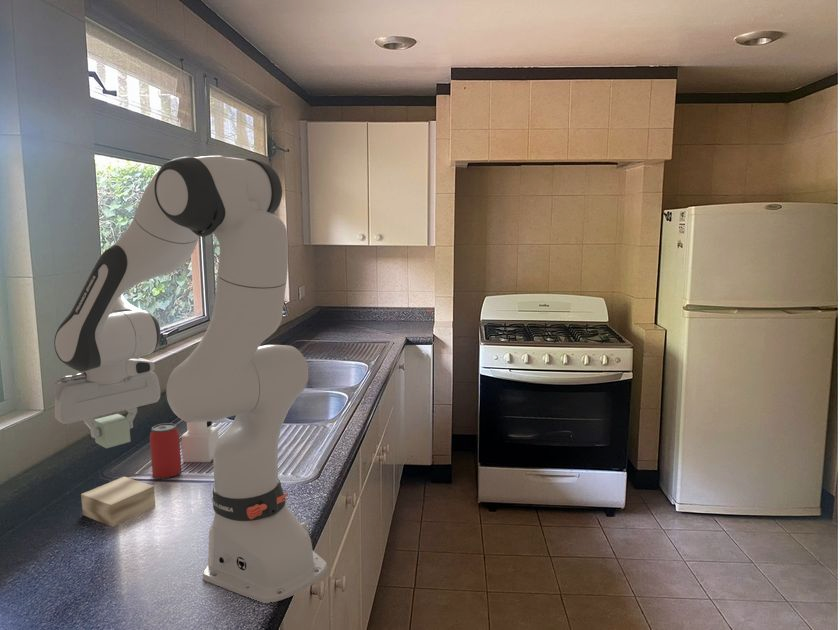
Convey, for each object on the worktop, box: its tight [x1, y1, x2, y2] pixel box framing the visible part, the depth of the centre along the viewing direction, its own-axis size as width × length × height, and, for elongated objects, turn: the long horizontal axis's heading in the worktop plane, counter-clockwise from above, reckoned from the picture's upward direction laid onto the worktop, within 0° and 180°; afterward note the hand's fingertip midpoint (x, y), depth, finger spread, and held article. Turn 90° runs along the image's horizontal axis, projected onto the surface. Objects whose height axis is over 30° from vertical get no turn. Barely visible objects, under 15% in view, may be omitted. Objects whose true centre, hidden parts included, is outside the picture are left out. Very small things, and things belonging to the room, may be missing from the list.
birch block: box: [80, 476, 156, 528], centre depth 131 cm, size 10×10×5 cm
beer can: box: [149, 422, 182, 480], centre depth 148 cm, size 7×7×12 cm
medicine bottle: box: [180, 421, 220, 463], centre depth 159 cm, size 7×7×12 cm
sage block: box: [93, 413, 131, 449], centre depth 128 cm, size 5×5×5 cm
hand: (112, 432), depth 128 cm, fingers closed on sage block, 5 cm apart
